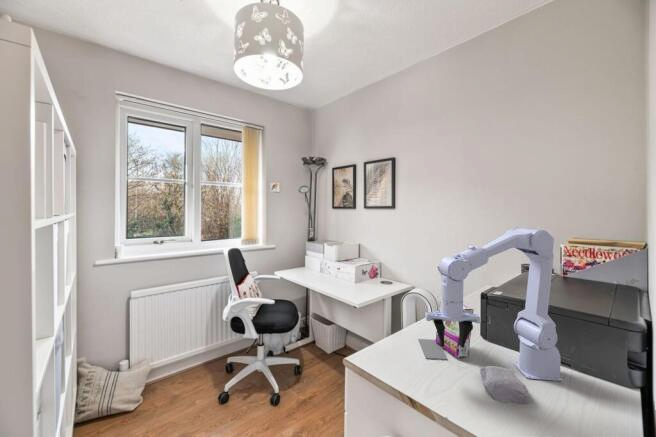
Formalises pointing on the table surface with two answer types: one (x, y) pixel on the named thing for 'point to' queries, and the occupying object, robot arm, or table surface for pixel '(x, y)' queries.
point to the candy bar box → (455, 336)
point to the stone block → (504, 385)
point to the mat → (432, 349)
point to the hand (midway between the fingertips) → (451, 345)
